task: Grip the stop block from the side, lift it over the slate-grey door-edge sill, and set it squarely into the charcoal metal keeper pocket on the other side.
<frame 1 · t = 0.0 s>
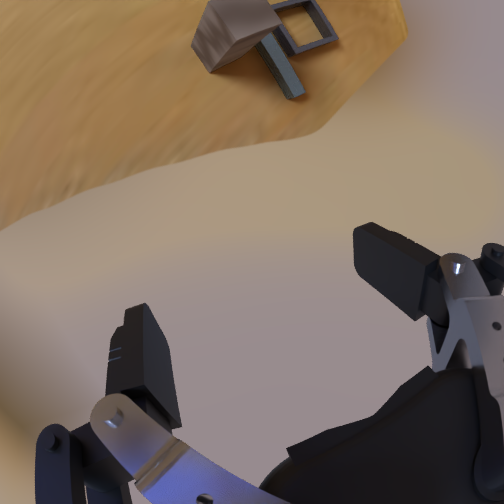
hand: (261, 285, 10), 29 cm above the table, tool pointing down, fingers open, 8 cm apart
keeper: (296, 26, 30), on the table
stop block: (216, 51, 29), on the table
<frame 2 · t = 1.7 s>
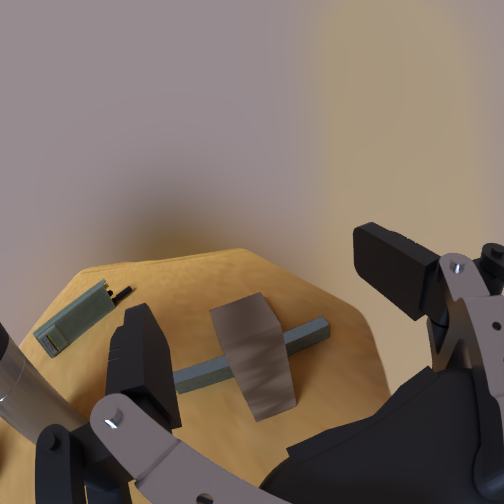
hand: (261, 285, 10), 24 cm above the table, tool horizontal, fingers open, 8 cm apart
keeper: (245, 329, 41), on the table
handheld radio: (92, 325, 50), on the table
stop block: (269, 398, 30), on the table
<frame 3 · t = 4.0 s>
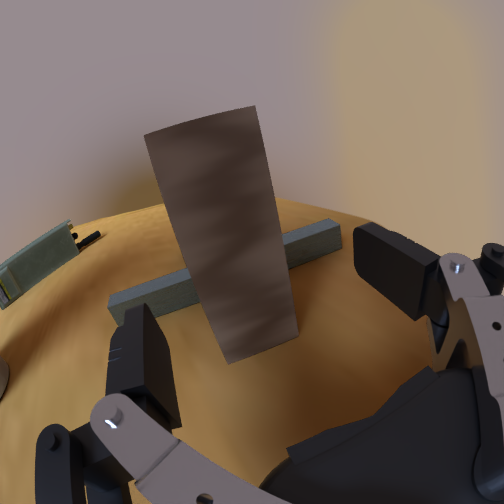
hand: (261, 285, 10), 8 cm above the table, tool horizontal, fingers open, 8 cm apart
keeper: (224, 249, 31), on the table
handheld radio: (51, 273, 39), on the table
stop block: (252, 327, 19), on the table
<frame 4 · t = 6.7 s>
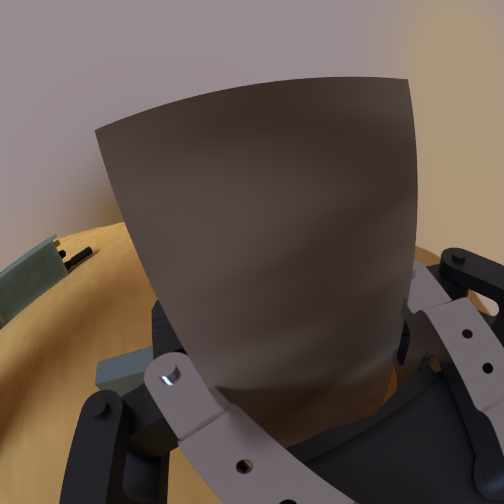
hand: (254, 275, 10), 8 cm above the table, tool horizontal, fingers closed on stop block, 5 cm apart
keeper: (247, 288, 23), on the table
handheld radio: (37, 298, 32), on the table
stop block: (303, 424, 12), on the table, touching gripper
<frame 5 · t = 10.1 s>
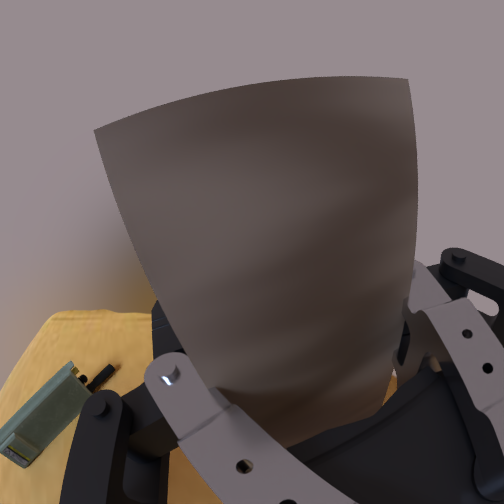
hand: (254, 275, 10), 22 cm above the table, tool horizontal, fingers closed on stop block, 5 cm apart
handheld radio: (66, 422, 26), on the table
stop block: (303, 424, 12), point 14 cm above the table, touching gripper
when the fingers open (9 cm above the table, at t = 14.0 s): stop block drops 1 cm, resting in keeper.
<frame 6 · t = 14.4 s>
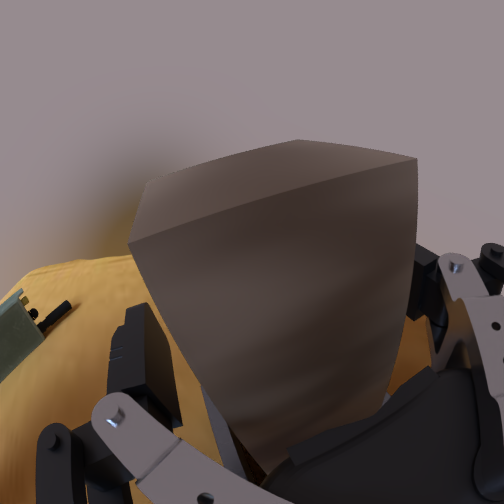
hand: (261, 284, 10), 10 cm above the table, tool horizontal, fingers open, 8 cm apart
keeper: (304, 434, 12), on the table
handheld radio: (12, 370, 20), on the table
stop block: (304, 435, 12), resting in keeper
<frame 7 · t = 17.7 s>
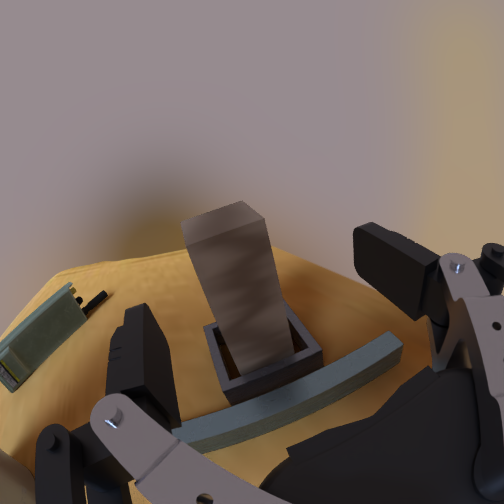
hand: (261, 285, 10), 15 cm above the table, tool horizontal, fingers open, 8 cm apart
keeper: (262, 355, 25), on the table
handheld radio: (59, 345, 33), on the table
stop block: (262, 355, 25), resting in keeper
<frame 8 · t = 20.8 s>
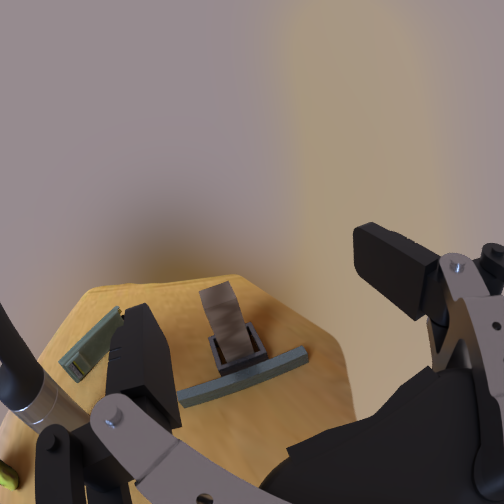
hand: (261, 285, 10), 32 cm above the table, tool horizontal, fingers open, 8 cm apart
keeper: (238, 353, 48), on the table
bottle: (10, 478, 20), on the table
handheld radio: (109, 348, 55), on the table
stop block: (238, 353, 48), resting in keeper
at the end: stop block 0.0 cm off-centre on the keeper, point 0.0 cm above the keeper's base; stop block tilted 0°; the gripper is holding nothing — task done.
